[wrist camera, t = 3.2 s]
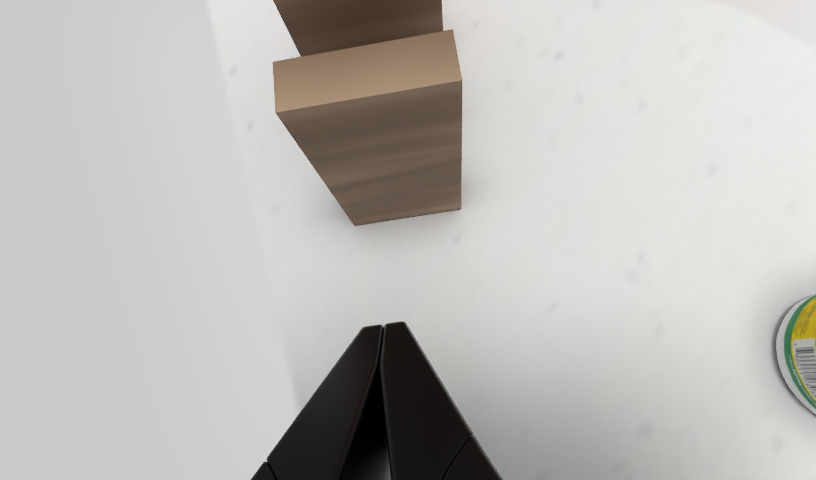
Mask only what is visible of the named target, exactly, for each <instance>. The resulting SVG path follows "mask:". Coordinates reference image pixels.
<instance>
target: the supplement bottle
mask: <svg viewBox="0 0 816 480" xmlns="http://www.w3.org/2000/svg"><path fill="white" fill-rule="evenodd" d="M776 352H777V359H778V364H779V368H780V370H781V373H782V375H783V377H784V379H785V381H786V383H787V385H788V386H789V388H790V389H791V390H792V392H793V393H794V395H795V396H796V397H797V398H798V399H799V400H800V401H801V402H802V403H803V404H804V405H805V406H806V407H807V408H808V409H809V410H811V411H812V412H813V413H815V414H816V295H812V296H810V297H807V298H805V299H803V300H802V301H800V302H798V303H797V304H796V305H795V306H793V308H792V309H791V310H790V311H789V312H788V313H787V315H786V316H785V318H784V319H783V321H782V323H781V326H780V328H779V331H778V334H777V339H776Z"/></svg>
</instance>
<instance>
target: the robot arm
mask: <svg viewBox="0 0 816 480" xmlns="http://www.w3.org/2000/svg"><path fill="white" fill-rule="evenodd" d="M251 480H503V479H502V478H501V476H500V475H499V473H498V472H497V470H496V469H495V467H494V466H493V464H492V463H491V461H490V459H489V458H488V456H487V455H486V453H485V452H484V450H483V449H482V447H481V445H480V444H479V442H478V440H477V439H476V437H475V436H473V433H472V431H471V429H470V428H469V426H468V424H467V423H466V421H465V419H464V418H463V416H462V415H461V413H460V411H459V410H458V408H457V406H456V405H455V403H454V401H453V400H452V398H451V396H450V395H449V393H448V392H447V390H446V388H445V387H444V385H443V383H442V382H441V380H440V378H439V377H438V375H437V373H436V372H435V370H434V369H433V367H432V365H431V364H430V362H429V360H428V359H427V357H426V355H425V354H424V352H423V350H422V349H421V347H420V345H419V344H418V342H417V341H416V339H415V337H414V336H413V334H412V332H411V331H410V329H409V327H408V326H407V324H406V323H405V322H395V323H388V324H386V325H385V326H383V325H374V326H367V327H363V328H362V329H361V330H360V332H359V333H358V334H357V336H356V337H355V338H354V340H353V341H352V343H351V344H350V345H349V347H348V348H347V349H346V351H345V352H344V353H343V355H342V356H341V358H340V359H339V360H338V362H337V363H336V364H335V366H334V367H333V369H332V370H331V371H330V373H329V374H328V375H327V377H326V378H325V379H324V381H323V382H322V384H321V385H320V386H319V388H318V389H317V390H316V392H315V393H314V394H313V396H312V397H311V399H310V400H309V401H308V403H307V404H306V405H305V407H304V408H303V410H302V411H301V412H300V414H299V415H298V416H297V418H296V419H295V420H294V422H293V424H292V425H291V426H290V427H289V429H288V430H287V432H286V433H285V434H284V436H283V437H282V438H281V440H280V441H279V442H278V444H277V445H276V446H275V448H274V449H273V451H272V452H271V453H270V455H269V456H268V457H267V462H264V463H263V464H262V465H261V467H260V468H259V469H258V471H257V472H256V474H255V475H254V476H253V478H252V479H251Z"/></svg>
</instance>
